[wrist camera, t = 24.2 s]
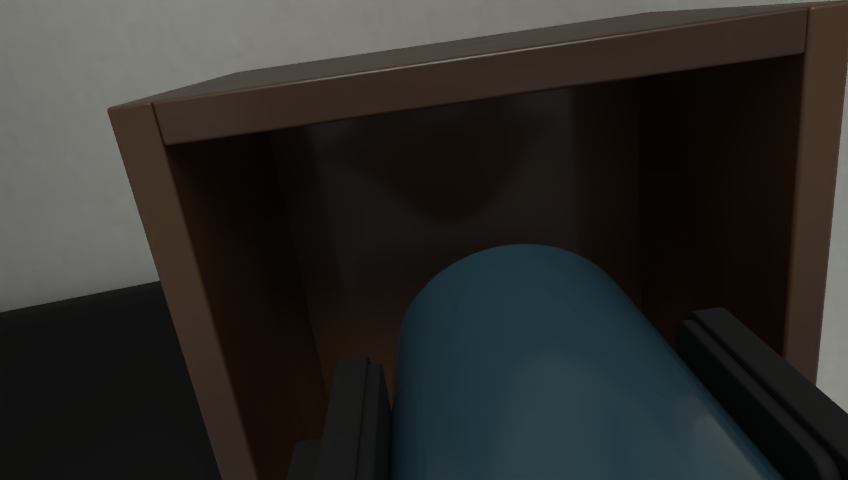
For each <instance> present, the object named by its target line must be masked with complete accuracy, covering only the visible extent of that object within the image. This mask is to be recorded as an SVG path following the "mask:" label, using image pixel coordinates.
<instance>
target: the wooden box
mask: <svg viewBox="0 0 848 480" xmlns="http://www.w3.org/2000/svg"><path fill="white" fill-rule="evenodd" d="M847 63H848V0H841V1H824V2H808V3H792V4H775V5H759V6H743V7H727V8H710V9H694V10H678V11H661V12H648V13H641V14H634V15H627V16H621V17H614V18H607V19H600V20H593V21H586V22H579V23H573V24H566V25H559V26H552V27H545V28H538V29H531V30H525V31H518V32H511V33H504V34H497V35H490V36H483V37H476V38H470V39H463V40H456V41H449V42H442V43H435V44H428V45H422V46H415V47H408V48H401V49H394V50H387V51H380V52H373V53H367V54H360V55H353V56H346V57H339V58H332V59H325V60H319V61H312V62H305V63H298V64H291V65H284V66H277V67H270V68H264V69H257V70H250V71H243V72H236V73H233V74H229V75H225V76H222V77H218V78H215V79H211V80H207V81H204V82H200V83H197V84H193V85H189V86H186V87H182V88H178V89H175V90H171V91H168V92H164V93H160V94H157V95H153V96H149V97H146V98H142V99H139V100H135V101H131V102H128V103H124V104H121V105H117V106H113V107H110V108H108V115H109V118H110V121H111V124H112V127H113V131H114V134H115V137H116V140H117V143H118V147H119V150H120V153H121V156H122V160H123V163H124V166H125V169H126V172H127V176H128V179H129V182H130V185H131V188H132V192H133V195H134V198H135V201H136V204H137V208H138V211H139V214H140V217H141V220H142V224H143V227H144V230H145V233H146V237H147V240H148V243H149V246H150V249H151V253H152V256H153V259H154V262H155V265H156V269H157V272H158V275H159V278H160V281H161V285H162V288H163V291H164V294H165V297H166V301H167V304H168V307H169V310H170V314H171V317H172V320H173V323H174V326H175V330H176V333H177V336H178V339H179V342H180V346H181V349H182V352H183V355H184V358H185V362H186V365H187V368H188V371H189V374H190V378H191V381H192V384H193V387H194V390H195V394H196V397H197V400H198V403H199V407H200V410H201V413H202V416H203V419H204V423H205V426H206V429H207V432H208V435H209V439H210V442H211V445H212V448H213V451H214V455H215V458H216V461H217V464H218V467H219V471H220V474H221V477H222V480H286V478H287V474H288V471H289V467H290V463H291V459H292V455H293V451H294V448H295V446H296V444H297V443H298V442H301V441H308V440H315V439H322V435H323V430H324V425H325V420H326V415H327V409H328V404H329V399H330V394H331V389H332V384H333V379H334V374H335V369H336V364H337V361H338V360H344V359H352V358H359V357H366V356H369V358H370V361H371V364H375V363H382V365H383V370H384V375H385V380H386V386H387V391H388V397H389V402H390V408H391V412H392V376H393V350H394V345H395V340H396V335H397V332H398V329H399V326H400V323H401V321H402V319H403V317H404V315H405V313H406V311H407V309H408V307H409V306H410V304H411V303H412V301H413V300H414V299H415V297H416V296H417V294H418V293H419V292H420V291H421V290H422V289H423V288H424V287H425V286H426V284H427V283H428V282H429V281H431V280H432V279H433V278H434V277H435V276H437V275H438V274H439V273H440V272H441V271H443V270H444V269H446V268H447V267H449V266H451V265H452V264H454V263H455V262H457V261H459V260H461V259H463V258H465V257H467V256H470V255H472V254H474V253H477V252H480V251H483V250H486V249H490V248H495V247H500V246H504V245H515V244H538V245H546V246H551V247H557V248H560V249H564V250H567V251H570V252H573V253H575V254H577V255H580V256H582V257H584V258H586V259H588V260H590V261H591V262H593V263H594V264H596V265H597V266H599V267H600V268H602V269H603V270H604V271H605V272H606V273H607V274H609V275H610V276H611V277H612V278H613V279H614V280H615V281H616V282H617V284H618V285H619V286H620V287H621V288H622V290H623V291H624V292H625V293H626V294H627V295H628V297H629V298H630V299H631V300H632V301H633V302H634V304H635V305H636V306H637V307H638V308H639V309H640V311H641V312H642V313H643V314H644V315H645V316H646V318H647V319H648V320H649V321H650V322H651V323H652V325H653V326H654V327H655V328H656V329H657V330H658V332H659V333H660V334H661V335H662V336H663V338H664V339H665V340H666V341H667V342H668V343H669V345H670V346H671V347H672V348H673V349H674V350H675V352H676V325H677V323H678V322H679V321H685V316H686V314H687V313H688V312H689V311H697V310H704V309H711V308H718V307H723V308H725V309H726V310H727V311H729V312H730V313H731V314H732V315H733V316H734V317H736V318H737V319H738V320H739V321H740V322H741V323H743V324H744V325H745V326H746V327H747V328H748V329H750V330H751V331H752V332H753V333H754V334H755V335H757V336H758V337H759V338H760V339H761V340H762V341H764V342H765V343H766V344H767V345H768V346H769V347H771V348H772V349H773V350H774V351H775V352H776V353H777V354H779V355H780V356H781V357H782V358H783V359H784V360H786V361H787V362H788V363H789V364H790V365H791V366H793V367H794V368H795V369H796V370H797V371H798V372H800V373H801V374H802V375H803V376H804V377H805V378H807V379H808V380H809V381H810V382H811V383H812V384H814V385H815V386H816V380H817V370H818V360H819V350H820V339H821V329H822V319H823V309H824V298H825V288H826V278H827V268H828V258H829V247H830V237H831V227H832V217H833V206H834V196H835V186H836V176H837V165H838V155H839V145H840V135H841V124H842V114H843V104H844V94H845V83H846V73H847Z"/></svg>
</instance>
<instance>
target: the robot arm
mask: <svg viewBox="0 0 848 480" xmlns="http://www.w3.org/2000/svg"><path fill="white" fill-rule="evenodd" d="M676 353H677V354H678V355H679V356H680V357H681V359H682V360H683V361H684V362H685V363H686V364H687V366H688V367H689V368H690V369H691V370H692V371H693V373H694V374H695V375H696V376H697V377H698V378H699V380H700V381H701V382H702V383H703V384H704V386H705V387H706V388H707V389H708V390H709V391H710V393H711V394H712V395H713V396H714V397H715V398H716V400H717V401H718V402H719V403H720V404H721V405H722V407H723V408H724V409H725V410H726V411H727V412H728V414H729V415H730V416H731V417H732V418H733V419H734V421H735V422H736V423H737V424H738V425H739V426H740V428H741V429H742V430H743V431H744V432H745V434H746V435H747V436H748V437H749V438H750V439H751V441H752V442H753V443H754V444H755V445H756V446H757V448H758V449H759V450H760V451H761V452H762V453H763V455H764V456H765V457H766V458H767V459H768V460H769V462H770V463H771V464H772V465H773V466H774V467H775V469H776V470H777V471H778V472H779V473H780V474H781V476H782V477H783V478H784V479H785V480H848V414H847V413H846V412H845V411H844V410H843V409H841V408H840V407H839V406H838V405H837V404H836V403H834V402H833V401H832V400H831V399H830V398H829V397H827V396H826V395H825V394H824V393H823V392H822V391H821V390H819V389H818V388H817V387H816V386H815V385H814V384H812V383H811V382H810V381H809V380H808V379H807V378H805V377H804V376H803V375H802V374H801V373H800V372H798V371H797V370H796V369H795V368H794V367H793V366H791V365H790V364H789V363H788V362H787V361H786V360H784V359H783V358H782V357H781V356H780V355H779V354H777V353H776V352H775V351H774V350H773V349H772V348H771V347H769V346H768V345H767V344H766V343H765V342H764V341H762V340H761V339H760V338H759V337H758V336H757V335H755V334H754V333H753V332H752V331H751V330H750V329H748V328H747V327H746V326H745V325H744V324H743V323H741V322H740V321H739V320H738V319H737V318H736V317H734V316H733V315H732V314H731V313H730V312H729V311H727V310H726V309H725V308H723V307H718V308H711V309H704V310H697V311H689V312H688V313H687V314H686V316H685V321H679V322H678V323H677V325H676ZM390 450H391V408H390V402H389V397H388V391H387V386H386V380H385V375H384V370H383V365H382V363H375V364H371V361H370V358H369V356H366V357H359V358H352V359H344V360H338V361H337V364H336V369H335V374H334V379H333V384H332V389H331V394H330V399H329V404H328V409H327V415H326V420H325V425H324V430H323V435H322V439H315V440H308V441H301V442H298V443H297V444H296V446H295V448H294V451H293V455H292V459H291V463H290V467H289V471H288V474H287V478H286V480H390Z"/></svg>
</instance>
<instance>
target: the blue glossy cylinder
mask: <svg viewBox="0 0 848 480" xmlns="http://www.w3.org/2000/svg"><path fill="white" fill-rule="evenodd" d="M390 480H785V479H784V478H783V477H782V476H781V474H780V473H779V472H778V471H777V470H776V469H775V467H774V466H773V465H772V464H771V463H770V462H769V460H768V459H767V458H766V457H765V456H764V455H763V453H762V452H761V451H760V450H759V449H758V448H757V446H756V445H755V444H754V443H753V442H752V441H751V439H750V438H749V437H748V436H747V435H746V434H745V432H744V431H743V430H742V429H741V428H740V426H739V425H738V424H737V423H736V422H735V421H734V419H733V418H732V417H731V416H730V415H729V414H728V412H727V411H726V410H725V409H724V408H723V407H722V405H721V404H720V403H719V402H718V401H717V400H716V398H715V397H714V396H713V395H712V394H711V393H710V391H709V390H708V389H707V388H706V387H705V386H704V384H703V383H702V382H701V381H700V380H699V378H698V377H697V376H696V375H695V374H694V373H693V371H692V370H691V369H690V368H689V367H688V366H687V364H686V363H685V362H684V361H683V360H682V359H681V357H680V356H679V355H678V354H677V353H676V352H675V350H674V349H673V348H672V347H671V346H670V345H669V343H668V342H667V341H666V340H665V339H664V338H663V336H662V335H661V334H660V333H659V332H658V330H657V329H656V328H655V327H654V326H653V325H652V323H651V322H650V321H649V320H648V319H647V318H646V316H645V315H644V314H643V313H642V312H641V311H640V309H639V308H638V307H637V306H636V305H635V304H634V302H633V301H632V300H631V299H630V298H629V297H628V295H627V294H626V293H625V292H624V291H623V290H622V288H621V287H620V286H619V285H618V284H617V282H616V281H615V280H614V279H613V278H612V277H611V276H610V275H609V274H607V273H606V272H605V271H604V270H603V269H602V268H600V267H599V266H597V265H596V264H594V263H593V262H591V261H590V260H588V259H586V258H584V257H582V256H580V255H577V254H575V253H573V252H570V251H567V250H564V249H560V248H557V247H551V246H546V245H538V244H515V245H504V246H500V247H495V248H490V249H486V250H483V251H480V252H477V253H474V254H472V255H470V256H467V257H465V258H463V259H461V260H459V261H457V262H455V263H454V264H452V265H451V266H449V267H447V268H446V269H444V270H443V271H441V272H440V273H439V274H438V275H437V276H435V277H434V278H433V279H432V280H431V281H429V282H428V283H427V284H426V286H425V287H424V288H423V289H422V290H421V291H420V292H419V293H418V294H417V296H416V297H415V299H414V300H413V301H412V303H411V304H410V306H409V307H408V309H407V311H406V313H405V315H404V317H403V319H402V321H401V323H400V326H399V329H398V332H397V335H396V340H395V345H394V350H393V376H392V412H391V450H390Z"/></svg>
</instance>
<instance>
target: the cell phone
mask: <svg viewBox="0 0 848 480" xmlns="http://www.w3.org/2000/svg"><path fill="white" fill-rule="evenodd" d="M0 480H222V477H221V474H220V471H219V467H218V464H217V461H216V458H215V455H214V451H213V448H212V445H211V442H210V439H209V435H208V432H207V429H206V426H205V423H204V419H203V416H202V413H201V410H200V407H199V403H198V400H197V397H196V394H195V390H194V387H193V384H192V381H191V378H190V374H189V371H188V368H187V365H186V362H185V358H184V355H183V352H182V349H181V346H180V342H179V339H178V336H177V333H176V330H175V326H174V323H173V320H172V317H171V314H170V310H169V307H168V304H167V301H166V297H165V294H164V291H163V288H162V285H161V281H157V282H152V283H147V284H142V285H137V286H132V287H127V288H122V289H117V290H112V291H107V292H102V293H97V294H92V295H87V296H82V297H77V298H72V299H67V300H62V301H57V302H51V303H46V304H41V305H36V306H31V307H26V308H21V309H16V310H11V311H6V312H1V313H0Z"/></svg>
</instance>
